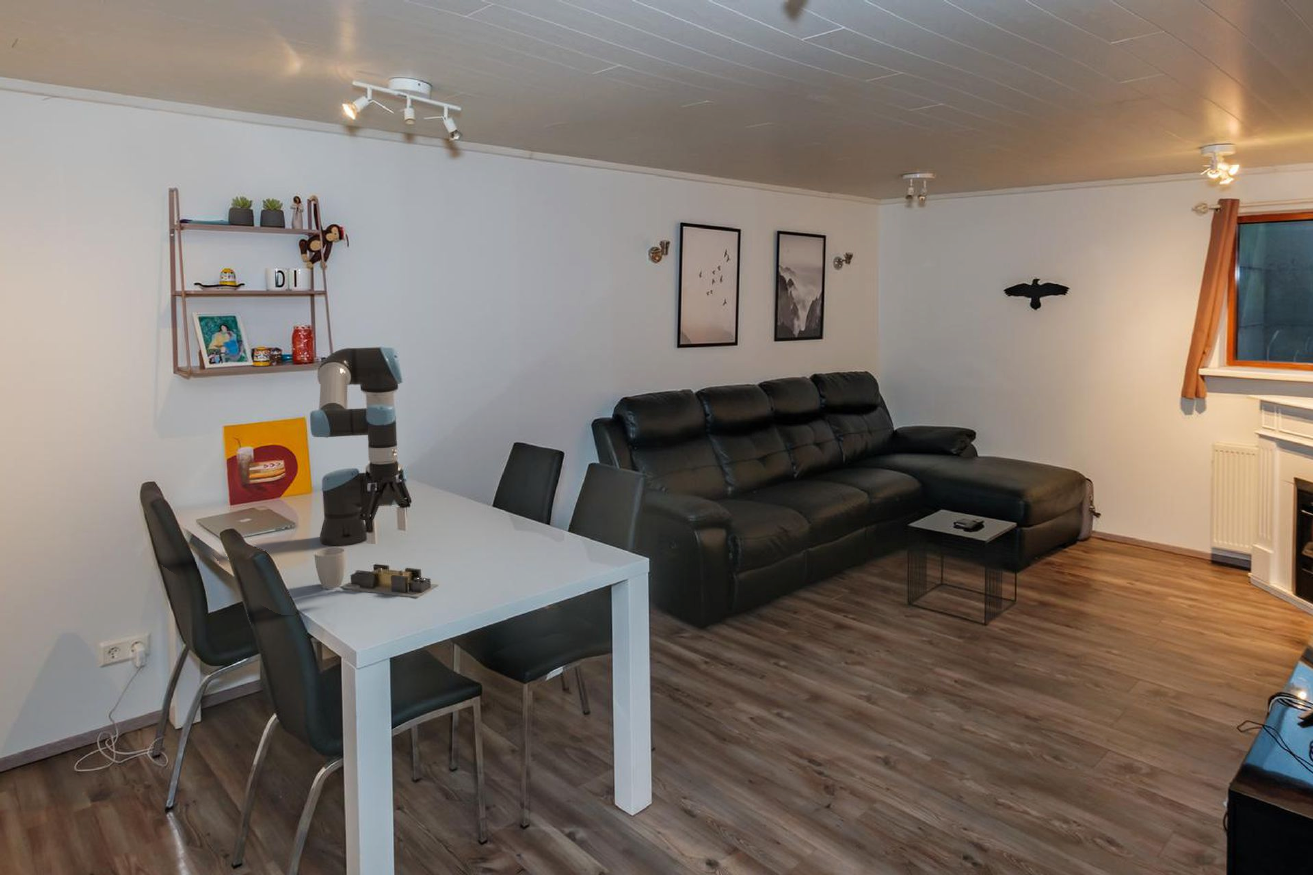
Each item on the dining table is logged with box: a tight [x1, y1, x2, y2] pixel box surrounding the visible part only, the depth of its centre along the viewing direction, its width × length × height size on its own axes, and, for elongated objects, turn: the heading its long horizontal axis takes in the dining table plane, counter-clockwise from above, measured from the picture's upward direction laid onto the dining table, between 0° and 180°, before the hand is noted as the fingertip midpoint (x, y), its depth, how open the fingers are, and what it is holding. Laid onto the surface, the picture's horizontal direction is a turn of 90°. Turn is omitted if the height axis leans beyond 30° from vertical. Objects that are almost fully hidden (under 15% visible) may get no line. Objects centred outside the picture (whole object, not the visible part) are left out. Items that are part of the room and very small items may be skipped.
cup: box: [313, 546, 346, 590], centre depth 232 cm, size 8×8×10 cm
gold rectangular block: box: [371, 568, 412, 589], centre depth 231 cm, size 11×4×5 cm, turn 72°
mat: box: [342, 582, 439, 599], centre depth 231 cm, size 24×10×1 cm, turn 72°
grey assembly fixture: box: [350, 563, 432, 593], centre depth 231 cm, size 23×8×4 cm, turn 72°
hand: (387, 536), depth 229 cm, fingers open, 13 cm apart
